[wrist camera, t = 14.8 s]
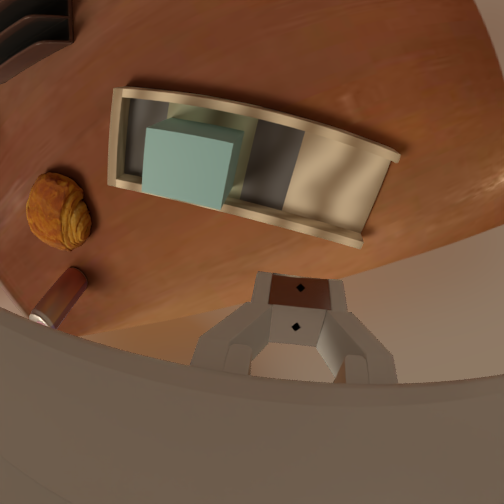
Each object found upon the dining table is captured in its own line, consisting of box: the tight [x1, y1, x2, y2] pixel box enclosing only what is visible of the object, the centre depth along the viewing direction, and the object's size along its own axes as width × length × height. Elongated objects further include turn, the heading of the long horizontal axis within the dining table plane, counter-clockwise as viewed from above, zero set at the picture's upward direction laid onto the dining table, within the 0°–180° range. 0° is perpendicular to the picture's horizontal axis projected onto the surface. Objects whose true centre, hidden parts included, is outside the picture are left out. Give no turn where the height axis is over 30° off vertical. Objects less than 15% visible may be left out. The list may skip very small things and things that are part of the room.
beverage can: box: [29, 267, 87, 329], centre depth 49 cm, size 6×6×15 cm
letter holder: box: [0, 0, 74, 84], centre depth 23 cm, size 10×20×14 cm, turn 95°
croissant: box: [26, 172, 92, 252], centre depth 44 cm, size 14×16×8 cm
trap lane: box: [108, 86, 401, 249], centre depth 37 cm, size 38×14×3 cm, turn 77°
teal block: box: [142, 118, 244, 210], centre depth 35 cm, size 10×8×8 cm
